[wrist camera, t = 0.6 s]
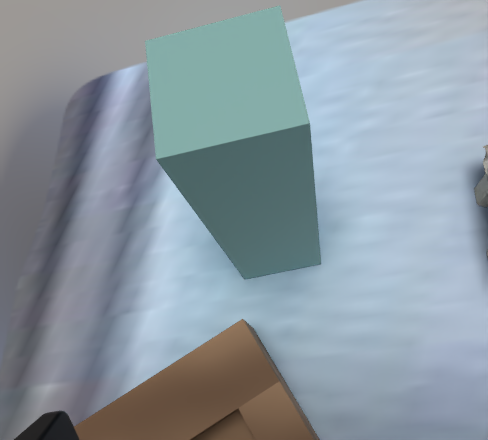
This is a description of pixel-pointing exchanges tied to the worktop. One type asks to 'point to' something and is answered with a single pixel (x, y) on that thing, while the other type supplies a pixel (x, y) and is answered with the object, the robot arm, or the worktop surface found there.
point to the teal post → (238, 138)
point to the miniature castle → (483, 186)
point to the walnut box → (207, 398)
